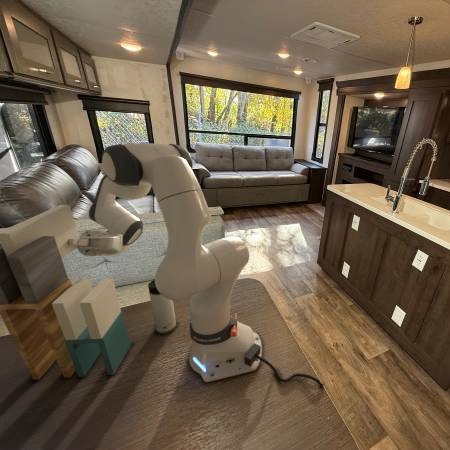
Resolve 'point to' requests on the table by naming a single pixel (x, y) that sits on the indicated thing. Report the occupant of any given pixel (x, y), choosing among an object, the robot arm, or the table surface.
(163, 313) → the travel mug
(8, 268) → the book stand
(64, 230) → the white book
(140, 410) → the table surface
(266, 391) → the table surface
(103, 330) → the cream teal blocky piece
